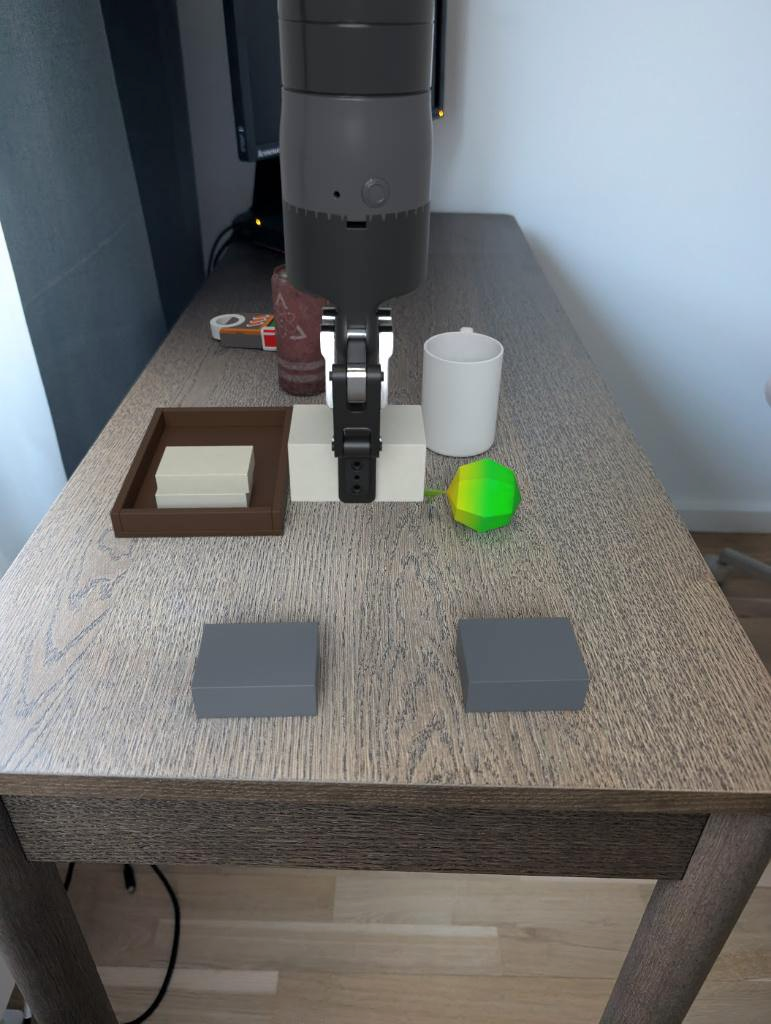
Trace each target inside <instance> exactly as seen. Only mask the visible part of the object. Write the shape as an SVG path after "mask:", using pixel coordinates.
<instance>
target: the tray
mask: <svg viewBox="0 0 771 1024" xmlns="http://www.w3.org/2000/svg"><path fill="white" fill-rule="evenodd" d="M293 406H294V405H293ZM293 406H285V405H284V406H173V407H171V406H169V407H168V406H167V407H166V406H165V407H155V410H154V412H153V414H152V416H151V419H150V421H149V423H148V426H147V428H146V430H145V432H144V434H143V437H142V440H141V441H140V444H139V446H138V449H137V451H136V453H135V455H134V457H133V459H132V462H131V465H130V467H129V469H128V471H127V473H126V475H125V477H124V481H123V483H122V485H121V487H120V489H119V492H118V494H117V497H116V498H115V501H114V503H113V505H112V508H111V510H110V512H109V516H110V517H109V518H110V521H111V525H112V529H113V530H112V531H113V535H114V538H115V539H117V538H118V539H124V538H126V539H127V538H129V539H132V538H134V539H135V538H187V537H188V538H195V537H196V538H198V537H201V538H202V537H203V538H205V537H207V538H208V537H269V536H271V537H272V536H273V537H275V536H276V537H278V536H283V534H284V528H285V527H284V526H285V520H286V519H285V518H286V510H287V501H288V494H289V486H290V473H289V457H288V440H289V433H290V426H291V420H292V413H293ZM178 446H253V450H254V460H255V465H254V471H253V487H252V492H251V498H250V503H249V507H223V508H158V507H157V502H156V496H155V495H156V492H157V489H158V487H157V482H156V477H155V475H156V472H157V470H158V467H159V465H160V462H161V459H162V457H163V454H164V451H165V449H166V447H178Z"/></svg>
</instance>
